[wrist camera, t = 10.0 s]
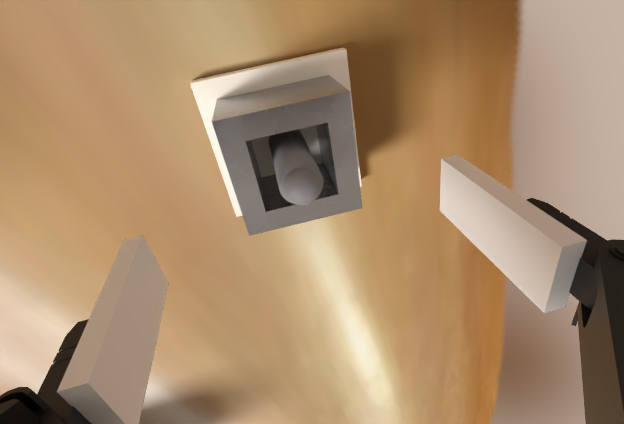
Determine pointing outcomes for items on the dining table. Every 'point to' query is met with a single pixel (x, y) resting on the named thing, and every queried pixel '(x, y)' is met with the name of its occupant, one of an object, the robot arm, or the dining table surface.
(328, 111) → the grey square storage bin
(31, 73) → the dining table surface
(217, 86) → the peg stand
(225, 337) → the dining table surface
